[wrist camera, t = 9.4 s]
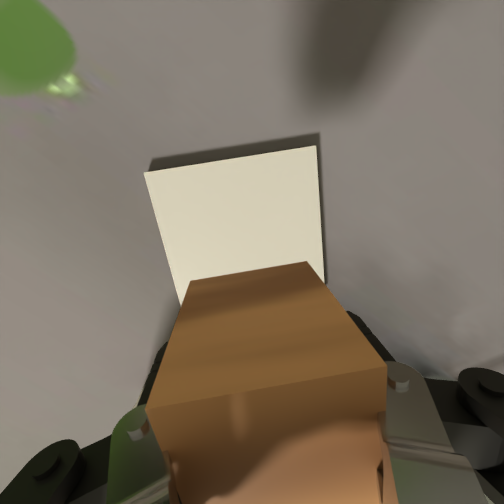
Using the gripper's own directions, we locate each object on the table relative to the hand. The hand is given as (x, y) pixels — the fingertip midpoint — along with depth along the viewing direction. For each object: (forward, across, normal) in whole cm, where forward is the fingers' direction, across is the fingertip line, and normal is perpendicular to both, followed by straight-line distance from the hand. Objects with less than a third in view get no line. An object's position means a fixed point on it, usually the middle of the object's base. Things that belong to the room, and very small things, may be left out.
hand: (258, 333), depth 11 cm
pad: (+14, 0, 0) cm, 14 cm away
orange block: (+1, 0, 0) cm, 1 cm away
